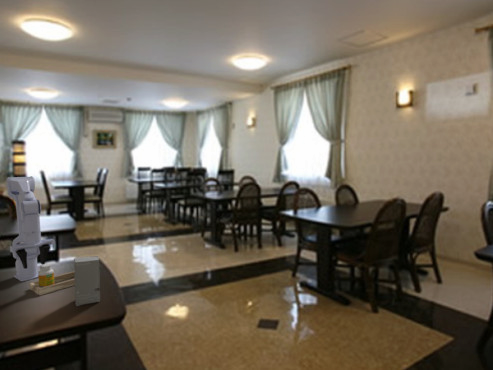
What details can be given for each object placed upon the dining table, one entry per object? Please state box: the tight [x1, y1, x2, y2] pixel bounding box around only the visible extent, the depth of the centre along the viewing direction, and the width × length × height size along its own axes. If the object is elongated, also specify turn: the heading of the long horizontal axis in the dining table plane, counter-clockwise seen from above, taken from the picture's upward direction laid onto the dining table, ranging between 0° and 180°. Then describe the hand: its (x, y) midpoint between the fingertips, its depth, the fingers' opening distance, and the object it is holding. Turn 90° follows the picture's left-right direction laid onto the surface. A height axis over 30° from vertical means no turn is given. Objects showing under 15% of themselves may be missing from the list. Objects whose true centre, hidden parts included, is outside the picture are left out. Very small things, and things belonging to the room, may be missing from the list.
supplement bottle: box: [37, 263, 56, 288], centre depth 136 cm, size 5×5×10 cm
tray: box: [28, 270, 75, 296], centre depth 140 cm, size 10×20×2 cm, turn 141°
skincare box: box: [73, 255, 101, 307], centre depth 124 cm, size 8×7×16 cm
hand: (34, 265), depth 132 cm, fingers open, 5 cm apart
